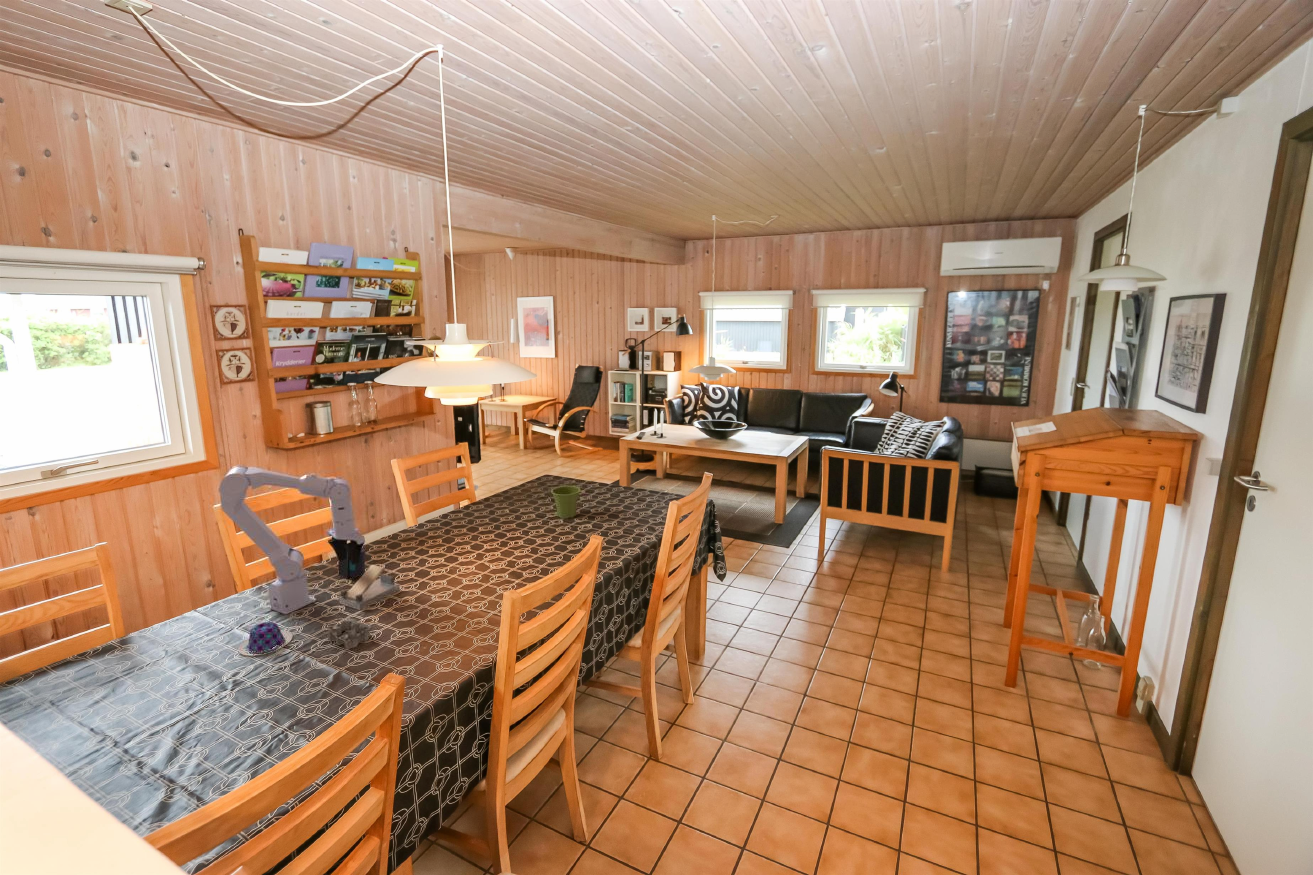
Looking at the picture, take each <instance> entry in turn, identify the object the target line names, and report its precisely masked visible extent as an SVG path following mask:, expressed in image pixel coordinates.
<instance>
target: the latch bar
mask: <svg viewBox="0 0 1313 875" xmlns="http://www.w3.org/2000/svg"><path fill="white" fill-rule="evenodd" d="M384 570H385V567H382V566H378V565H374V564H371V565H370V566H369V567H368V568H367V569H366V570H365V573H364V574H363V575H361V577H360V578H359V579H358V580H357V581H356V583H354V585H353V586H352V587H351V588H350V589H349V590H347V594H346V595H345V596H346V597H348V598H351V599H354V600H356V596H357V595H359V594H361V595H363V594H364V593H365V592H366V590H367V589H368V588H369V587H370V586H371V585H372V583H373V582H374V581H375V580H377V579H379V577H380V575H381V574H383V572H384Z"/></svg>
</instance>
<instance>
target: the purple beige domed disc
mask: <svg viewBox="0 0 1313 875" xmlns="http://www.w3.org/2000/svg"><path fill="white" fill-rule="evenodd" d="M248 636H249V637H248V639H246V640H245V641H243V642H242V643H241V644H240V646H239V647H238V652H239V653H240V654H241V655H243V656H253V657H254V656H261V655H262V654H254V655H253V654H247V653H245V652H244V651H245V649H243V648H244V647H245V646H246V645H247V644H248V648H249V649H248V648H247V649H248V651H251V653H253V652H252V651H256V652H261V651H264V650H268V649H272V648H273V647H275V646H276V645H280V644H283V642H284V640H286V642H285V643H284V644H283V646H282V647H281V648H283V647H285V646H286V645H288V644H289V643H290V642H291V641H292V639H293V633H292V632H291V631H288V630H285V629H284V630H283V629H280V627H279V625H278V624H277V623H275V622H273V621H268V622H266V621H265V622H261V623H260V624H256V625H255V626H254V627H252V628H251V629H250V631H249V635H248ZM283 636H284V637H287V638H285V639H284V637H283ZM248 642H249V643H248ZM281 648H279V649H281ZM279 649H278V650H279ZM275 651H276V650H274V651H271V652H268V653H264V654H263V655H266V654H269V653H273V652H275ZM256 652H255V653H256ZM264 652H265V651H264ZM261 653H262V652H261Z"/></svg>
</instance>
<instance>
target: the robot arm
mask: <svg viewBox="0 0 1313 875" xmlns="http://www.w3.org/2000/svg"><path fill="white" fill-rule="evenodd" d="M262 486H272V487H281V488H288V489H294V490H295V489H296V490H298V491H299V493H300V494H301V495H305V496H312V497H318V498H325V499H326V498H328V499H329V500H330V512H331V519H332V525H333V528H330V529H326V534H327V535H326V536H327V537H328V538H329V537H331V538H330V539H328V540H327V543H328V544H329V545H330V547H331V548H332V549H333V551H334V553H335V555H336V557H337V559H338V562H339V561H342V560H344V559H346V558H347V551H348V554H349V557H350V561H351V564H352V565H354V564H356V563H359V559H360V553H361V550H362V548H363V547H364V545H365V543H366V538H365V536H364V535H363V534H361V533H360V530H359V529H358V528H356V523H355V515H354V509H353V503H352V497H351V494H352V492H351V484H350V482H349V481H348V480H346V479H344V478H342V477H337V478H335V477H331V476H330V478H329V477H323V476H319V475H318V476H317V473H314V472H312V473H311V474H305V475H302V476H301V477H299V476H296V475H290V474H285V473H281V472H277V471H274V470H273V471H271V470H268V469H264V468H263V469H262V468H259V467H255V466H249V467H247V466H245V465H235V466H232V467H231V468H230V469H229V470H228V471H227V473H226V475H225V476H223V478H222V479H221V481H220V484H219V487H218V493H219V497H220V498H219V499H220V504H221V505H220V506H221V510H222V512H223V513H224V514H225V515H226V516H228V518H229V519H230V520H231V521H232V522H233V523H234V524H235V525H236V526H237V527H238V528H240V530H241V531H242V532H243V533H244V534H245V535H246V536H247V537H248V538H249V539H250V540H251V541H252V542H254V544H255V545H256V546H257V547H258V548H259V549H260V550H261V551H262V552H263V553H264V554H265V555H266V556H267V557H268V560H269V562H270V565H271V566H272V567H273V569H275V573H276V578H277V579H276V580H275V581H274V582H272V583H270V584H268V590H267V592H268V597H269V603H270V606H269V609H270V610H273V611H276V612H279V613H281V614H283V615H287V614H290V613H292V612H294V611H296V610H299V609H301V608H304V607H305V606H308V605H310V604H311V603H314V602H317V598H315V597H312V596H310V593H309V586H308V578H307V577H308V576H307V571H306V570H305V569H304V568H303V567H302V566H303V563H304V560H305V557H304V554H303V553H302V551H300V550H299V549H297V548H294V547H292V546H291V545H290V544H288V543H285V542H283V541H282V540H281V538H280V537H278V536H277V534H275V533H274V531H273V530H272V529H271V528H270V526H268V525H267V524H266V523H265V522H264V521H263V520H262V519H261V518H260V517H259V516H258V515H257V514H256V512H255V511H253V510H252V509H251V507H250V506H248V504H246V502H245V501H246V496H247V493H248V492H247V491H248V489H249V487H251V490H255V489H258V488H260V487H262ZM348 541H349V542H348Z"/></svg>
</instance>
